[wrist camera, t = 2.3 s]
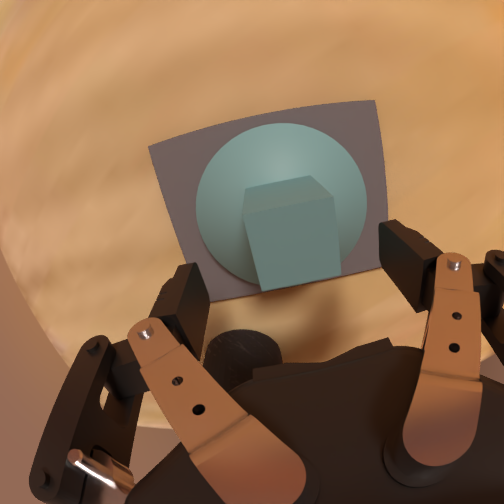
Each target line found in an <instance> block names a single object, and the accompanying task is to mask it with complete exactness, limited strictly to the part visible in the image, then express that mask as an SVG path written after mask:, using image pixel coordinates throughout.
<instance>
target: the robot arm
mask: <svg viewBox="0 0 504 504" xmlns="http://www.w3.org/2000/svg"><path fill="white" fill-rule="evenodd" d="M378 234H379V260H380V263H381V266H382V268H383V269H384V271H385V272H386V273H387V274H388V276H389V277H390V278H391V280H392V281H393V282H394V283H395V285H396V286H397V287H398V289H399V290H400V291H401V293H402V294H403V295H404V297H405V298H406V299H407V301H408V302H409V303H410V305H411V306H412V308H413V309H414V310H415V312H416V313H419V312H422V311H425V310H428V317H427V322H426V327H425V332H424V337H423V341H422V346H421V349H419V348H415V347H408V346H392V344H391V342H390V340H389V338H384V339H381V340H378V341H375V342H371V343H368V344H364V345H361V346H357V347H355V348H353V349H351V350H349V351H347V352H345V353H343V354H341V355H339V356H337V357H335V358H333V359H331V360H329V361H326V362H321V363H284V364H279V365H273V366H267V367H261V368H255V369H253V379H251V380H249V381H247V382H244V383H242V384H240V385H239V386H237V387H235V388H233V389H232V390H231V391H229V392H228V393H227V392H226V391H225V390H224V389H223V388H222V387H221V386H220V385H219V384H218V383H217V382H216V381H215V380H214V379H213V378H212V376H211V375H210V374H209V373H208V372H207V371H206V370H205V369H204V368H203V366H202V365H201V364H200V363H199V362H198V361H200V357H201V352H202V346H203V340H204V335H205V329H206V324H207V318H208V313H209V307H210V298H209V294H208V291H207V288H206V285H205V283H204V280H203V277H202V275H201V272H200V269H199V267H198V265H197V263H196V262H193V263H188V264H183V265H179V266H178V268H177V270H176V272H175V275H174V277H173V278H170V279H169V280H168V281H167V282H166V283H165V284H164V285H163V286H162V288H161V291H160V293H159V294H160V295H158V297H157V299H156V300H157V301H155V304H154V306H153V308H152V310H151V313H150V315H149V317H148V318H146V319H143V320H141V321H139V322H138V323H136V324H135V325H134V326H133V327H132V328H131V329H130V330H129V332H128V335H127V338H128V339H126V340H123V341H120V342H117V343H114V344H111V342H110V341H109V339H108V338H107V337H106V336H104V335H98V336H95V337H93V338H91V339H89V340H88V341H86V342H85V343H84V344H83V346H82V347H81V349H80V351H79V352H78V354H77V356H76V358H75V360H74V362H73V364H72V367H71V369H70V371H69V373H68V375H67V378H66V379H65V381H64V383H63V386H62V388H61V390H60V392H59V395H58V397H57V399H56V402H55V404H54V406H53V409H52V411H51V414H50V416H49V419H48V421H47V424H46V427H45V429H44V432H43V435H42V438H41V440H40V443H39V446H38V449H37V452H36V455H35V458H34V462H33V465H32V468H31V472H30V476H29V486H30V489H31V492H32V493H33V495H34V496H35V497H36V498H37V499H38V500H40V501H42V502H44V503H46V504H504V384H501V383H499V382H497V381H494V380H492V379H490V378H487V377H485V376H483V375H480V358H481V332H482V334H483V335H484V336H485V338H486V339H487V341H488V342H489V344H490V345H491V347H492V348H493V350H494V351H495V353H496V355H497V356H498V358H499V359H500V361H501V363H502V364H503V366H504V309H503V308H502V306H503V303H504V251H500V250H490V251H488V252H487V253H486V256H485V261H484V263H482V264H471V263H470V261H469V259H468V258H466V257H465V256H463V255H461V254H458V253H443V252H442V251H441V250H440V249H438V248H437V247H436V246H435V245H434V244H432V243H431V242H429V240H427V239H426V238H424V236H422V235H421V234H420V233H419V232H417V231H415V230H412V229H410V228H406V227H405V226H404V225H402V224H401V223H400V222H399V221H397V220H396V219H394V220H389V221H385V222H380V223H379V226H378ZM103 387H105V388H106V389H107V390H108V391H109V393H108V396H107V400H106V403H105V406H104V409H103V410H102V408H101V406H100V395H101V392H102V389H103ZM147 391H151V393H152V395H153V396H154V398H155V400H156V402H157V404H158V405H159V407H160V409H161V410H162V412H163V414H164V415H165V417H166V419H167V420H168V422H169V424H170V425H171V427H172V428H173V430H174V431H175V433H176V435H177V436H178V438H179V439H180V441H181V442H180V443H179V444H178V445H177V446H176V447H175V448H174V449H173V450H172V451H171V452H170V453H169V454H168V455H167V456H166V457H165V458H164V459H163V460H162V461H161V462H160V463H159V464H157V465H156V466H155V467H154V468H153V469H152V470H151V471H150V472H149V473H148V474H147V475H146V476H145V477H144V478H143V479H141V480H140V481H139V482H138V483H137V484H135V483H134V478H133V474H132V472H131V471H130V470H129V464H130V457H131V452H132V447H133V441H134V436H135V431H136V426H137V421H138V417H139V412H140V408H141V403H142V399H143V394H144V392H147Z"/></svg>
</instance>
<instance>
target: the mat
mask: <svg viewBox="0 0 504 504" xmlns="http://www.w3.org/2000/svg"><path fill="white" fill-rule="evenodd" d="M275 123H292V124H298V125H304V126H307V127H310V128H314V129H316V130H318V131H320V132H323V133H325V134H326V135H328V136H329V137H331V138H333V139H334V140H335V141H337V142H338V143H339V144H340V145H341V146H342V147H343V148H344V149H345V150H346V151H347V152H348V153H349V154H350V156H351V157H352V158H353V160H354V161H355V163H356V165H357V166H358V168H359V170H360V173H361V175H362V178H363V181H364V184H365V189H366V195H367V211H366V219H365V223H364V227H363V230H362V232H361V235H360V237H359V239H358V241H357V243H356V245H355V247H354V248H353V249H352V251H351V252H350V254H349V255H348V256H347V257H346V258H345V259H344V260H343V261H342V262H341V275H339V276H334V277H330V278H325V279H320V280H316V281H311V282H308V283H313V282H317V281H322V280H327V279H331V278H336V277H340V276H345V275H349V274H353V273H358V272H362V271H366V270H370V269H374V268H379V267H382V266H381V263H380V260H379V234H378V226H379V223H380V222H385V221H388V203H387V187H386V175H385V165H384V156H383V147H382V140H381V133H380V127H379V120H378V115H377V109H376V104H375V100H367V101H352V102H341V103H331V104H322V105H314V106H307V107H300V108H293V109H287V110H282V111H276V112H271V113H266V114H261V115H256V116H251V117H247V118H242V119H238V120H234V121H230V122H226V123H222V124H218V125H214V126H210V127H207V128H203V129H200V130H196V131H193V132H190V133H186V134H183V135H180V136H177V137H174V138H171V139H168V140H165V141H162V142H159V143H156V144H153V145H151V146H148V148H149V152H150V155H151V159H152V162H153V165H154V169H155V172H156V175H157V179H158V182H159V185H160V188H161V191H162V194H163V197H164V201H165V204H166V207H167V210H168V213H169V215H170V218H171V221H172V224H173V227H174V230H175V233H176V236H177V238H178V241H179V244H180V247H181V249H182V252H183V255H184V258H185V260H186V263H187V264H188V263H193V262H196V263H197V265H198V267H199V269H200V272H201V275H202V277H203V280H204V283H205V285H206V288H207V291H208V294H209V298H210V302H213V301H219V300H224V299H230V298H236V297H241V296H247V295H252V294H258V293H263V292H268V291H273V290H278V289H283V288H288V287H282V288H277V289H272V290H267V291H262V290H261V286H260V285H258V284H255V283H251V282H248V281H246V280H244V279H242V278H239V277H238V276H236V275H234V274H233V273H231V272H229V271H228V270H227V269H226V268H224V267H223V266H222V265H221V264H220V263H219V262H218V261H217V260H216V259H215V258H214V257H213V255H212V254H211V253H210V251H209V250H208V248H207V246H206V245H205V243H204V241H203V239H202V236H201V234H200V231H199V227H198V223H197V217H196V196H197V191H198V186H199V183H200V180H201V177H202V175H203V173H204V171H205V169H206V167H207V165H208V164H209V162H210V161H211V159H212V158H213V156H214V155H215V154H216V153H217V152H218V151H219V150H220V149H221V148H222V147H223V146H224V145H225V144H226V143H228V142H229V141H230V140H231V139H233V138H235V137H236V136H238V135H239V134H241V133H243V132H245V131H248V130H250V129H252V128H255V127H259V126H262V125H267V124H275ZM308 283H305V284H308ZM301 285H303V284H301ZM297 286H298V285H297ZM290 287H293V286H290Z"/></svg>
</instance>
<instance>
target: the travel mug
mask: <svg viewBox="0 0 504 504" xmlns="http://www.w3.org/2000/svg"><path fill="white" fill-rule="evenodd" d="M279 364H283V363H282V357H281V352H280V349H279V347H278V345H277V344H276V342H275V341H274V340H273V339H272V338H270V337H269V336H267V335H265V334H263V333H260V332H257V331H252V330H232V331H228V332H225V333H222V334H220V335H218V336H217V337H215V338H214V339H213V340H212V341H211V342H210V344H209V345H208V347H207V350H206V354H205V359H204V363H203V368H204V369H205V370H206V371H207V372H208V373H209V374H210V375H211V376H212V378H213V379H214V380H215V381H216V382H217V383H218V384H219V385H220V386H221V387H222V388H223V389H224V390H225V391H226V392H227V393H228V392H229V391H231V390H232V389H233V388H235V387H237V386H239V385H240V384H242V383H244V382H247V381H249V380H251V379H253V369H255V368H261V367H267V366H273V365H279Z"/></svg>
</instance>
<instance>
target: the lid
mask: <svg viewBox="0 0 504 504" xmlns="http://www.w3.org/2000/svg"><path fill="white" fill-rule="evenodd" d="M366 211H367V195H366V189H365V184H364V181H363V178H362V175H361V173H360V170H359V168H358V166H357V165H356V163H355V161H354V160H353V158H352V157H351V156H350V154H349V153H348V152H347V151H346V150H345V149H344V148H343V147H342V146H341V145H340V144H339V143H338V142H337V141H335V140H334V139H333V138H331V137H329V136H328V135H326V134H325V133H323V132H320V131H318V130H316V129H314V128H310V127H307V126H304V125H298V124H292V123H275V124H267V125H262V126H259V127H255V128H252V129H250V130H248V131H245V132H243V133H241V134H239V135H238V136H236V137H235V138H233V139H231V140H230V141H229V142H228V143H226V144H225V145H224V146H223V147H222V148H221V149H220V150H219V151H218V152H217V153H216V154H215V155H214V156H213V158H212V159H211V161H210V162H209V164H208V165H207V167H206V169H205V171H204V173H203V175H202V177H201V180H200V183H199V186H198V191H197V196H196V217H197V223H198V227H199V231H200V234H201V236H202V239H203V241H204V243H205V245H206V246H207V248H208V250H209V251H210V253H211V254H212V255H213V257H214V258H215V259H216V260H217V261H218V262H219V263H220V264H221V265H222V266H223V267H224V268H226V269H227V270H228V271H229V272H231V273H233V274H234V275H236V276H238V277H239V278H242V279H244V280H246V281H248V282H251V283H255V284H258V285H260V286H261V290H262V291H267V290H272V289H277V288H282V287H290V286H297V285H301V284H305V283H308V282H311V281H316V280H320V279H325V278H330V277H334V276H339V275H341V262H342V261H343V260H344V259H345V258H346V257H347V256H348V255H349V254H350V252H351V251H352V249H353V248H354V247H355V245H356V243H357V241H358V239H359V237H360V235H361V232H362V230H363V227H364V223H365V219H366Z"/></svg>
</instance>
